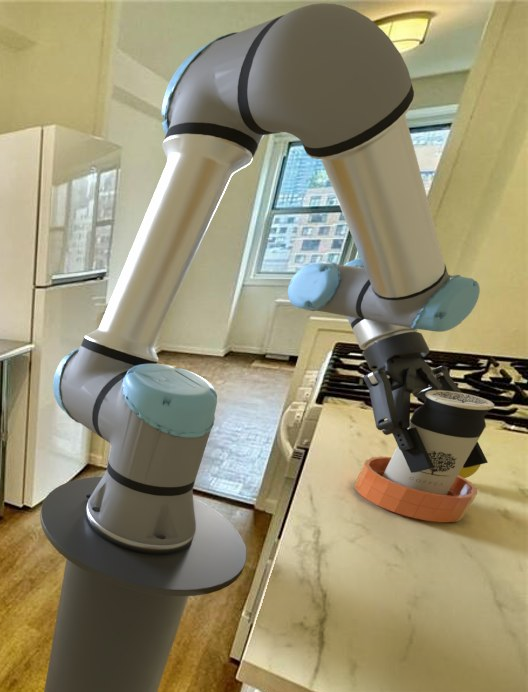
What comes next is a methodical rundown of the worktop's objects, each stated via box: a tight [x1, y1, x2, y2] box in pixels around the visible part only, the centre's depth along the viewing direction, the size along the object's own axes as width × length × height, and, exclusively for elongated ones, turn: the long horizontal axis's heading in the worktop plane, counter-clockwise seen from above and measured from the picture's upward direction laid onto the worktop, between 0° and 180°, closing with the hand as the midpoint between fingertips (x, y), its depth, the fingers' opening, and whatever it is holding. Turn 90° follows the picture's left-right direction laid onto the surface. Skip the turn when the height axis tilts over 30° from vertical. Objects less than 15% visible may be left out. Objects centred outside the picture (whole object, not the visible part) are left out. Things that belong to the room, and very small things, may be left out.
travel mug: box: [382, 390, 496, 495], centre depth 77 cm, size 8×8×18 cm
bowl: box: [354, 456, 479, 523], centre depth 80 cm, size 14×14×5 cm
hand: (449, 467), depth 75 cm, fingers open, 9 cm apart
